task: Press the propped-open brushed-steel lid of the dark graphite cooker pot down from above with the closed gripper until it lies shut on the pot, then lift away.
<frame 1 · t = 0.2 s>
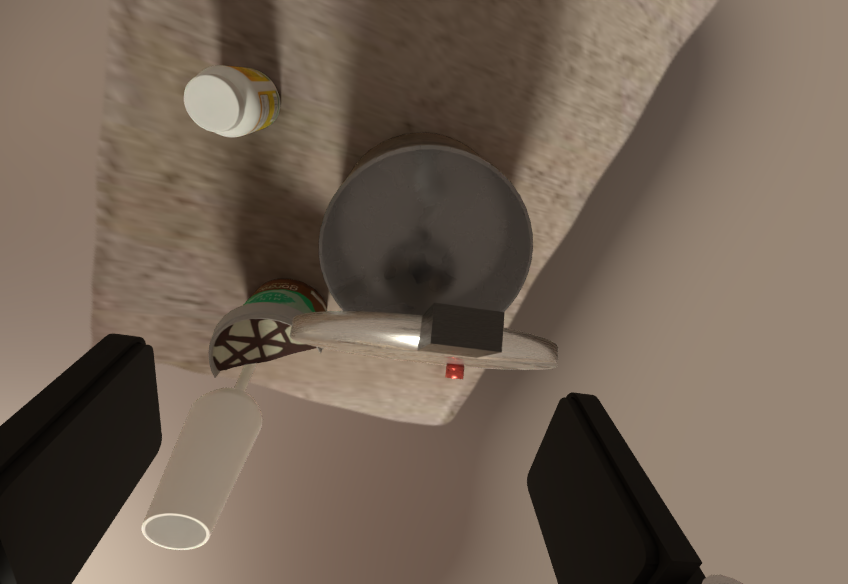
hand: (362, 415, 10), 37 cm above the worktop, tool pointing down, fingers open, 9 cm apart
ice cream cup: (281, 292, 49), on the worktop, touching champagne flute
supplement bottle: (253, 98, 40), on the worktop
champagne flute: (262, 337, 52), on the worktop, touching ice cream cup
cooker lid: (426, 352, 29), point 21 cm above the worktop, hinge at 50.0°
cooker pot: (421, 219, 46), on the worktop
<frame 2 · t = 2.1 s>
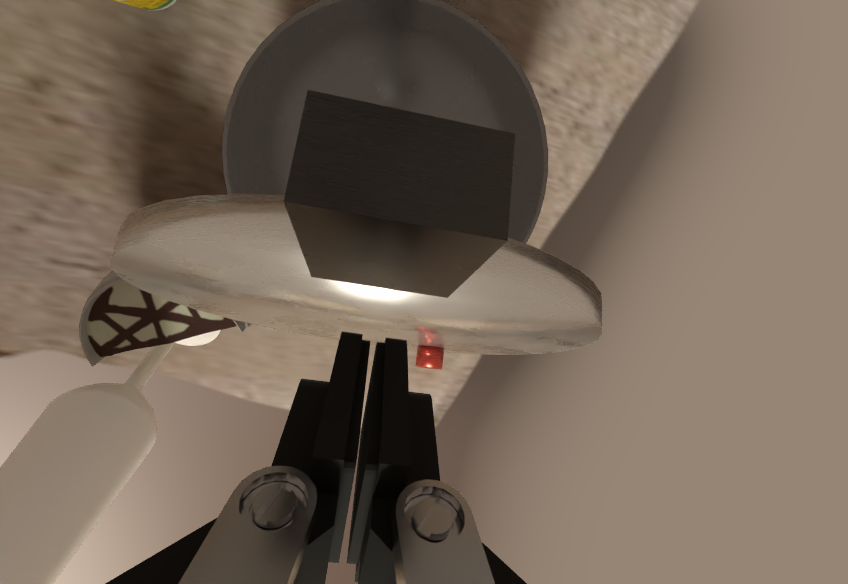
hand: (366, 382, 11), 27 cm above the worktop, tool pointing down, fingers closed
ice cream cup: (206, 256, 37), on the worktop
champagne flute: (185, 316, 39), on the worktop
cooker lid: (371, 315, 17), point 21 cm above the worktop, hinge at 50.0°
cooker pot: (392, 155, 34), on the worktop
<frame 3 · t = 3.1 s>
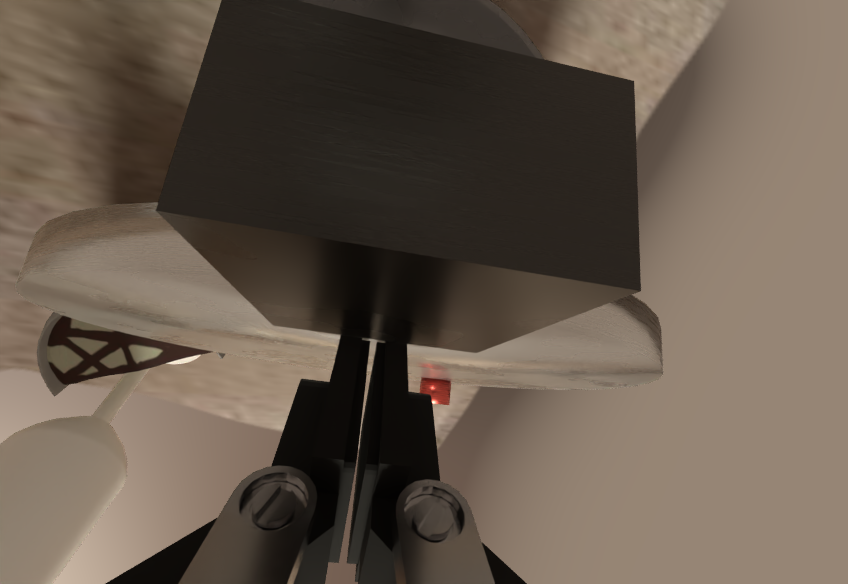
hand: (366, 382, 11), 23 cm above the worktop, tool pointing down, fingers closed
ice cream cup: (187, 268, 34), on the worktop, touching champagne flute
champagne flute: (166, 333, 36), on the worktop, touching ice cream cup
cooker lid: (366, 352, 14), point 20 cm above the worktop, hinge at 47.9°, touching gripper
cooker pot: (391, 157, 30), on the worktop
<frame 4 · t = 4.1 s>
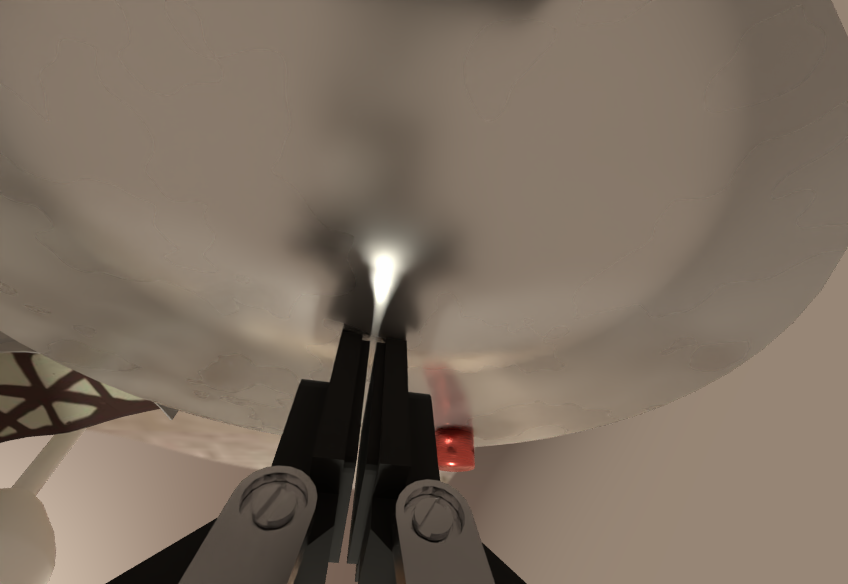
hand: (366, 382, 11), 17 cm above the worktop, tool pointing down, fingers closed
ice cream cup: (142, 290, 28), on the worktop, touching champagne flute
champagne flute: (122, 365, 30), on the worktop, touching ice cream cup
cooker lid: (372, 310, 9), point 17 cm above the worktop, hinge at 26.8°, touching gripper
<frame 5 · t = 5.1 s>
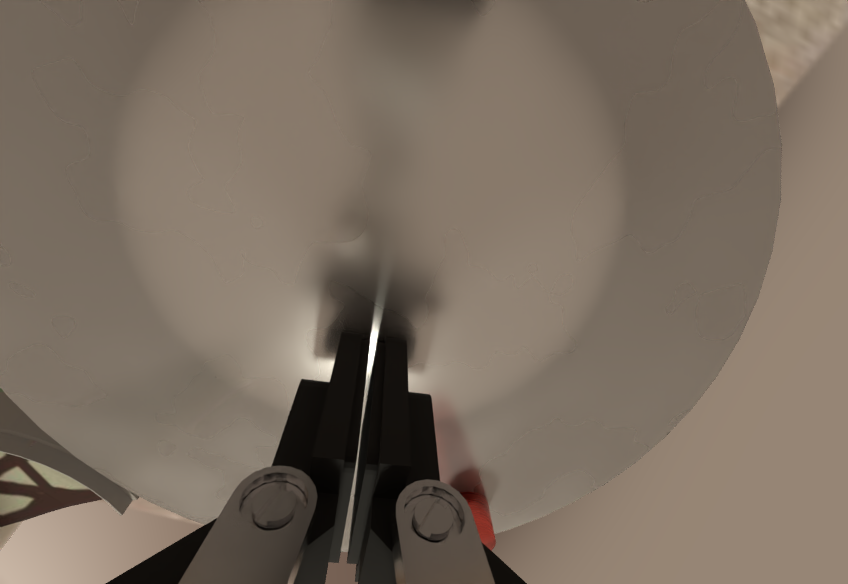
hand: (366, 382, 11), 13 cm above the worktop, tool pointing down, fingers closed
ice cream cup: (107, 341, 25), on the worktop, touching champagne flute
cooker lid: (381, 262, 9), point 13 cm above the worktop, hinge at 2.2°, touching gripper
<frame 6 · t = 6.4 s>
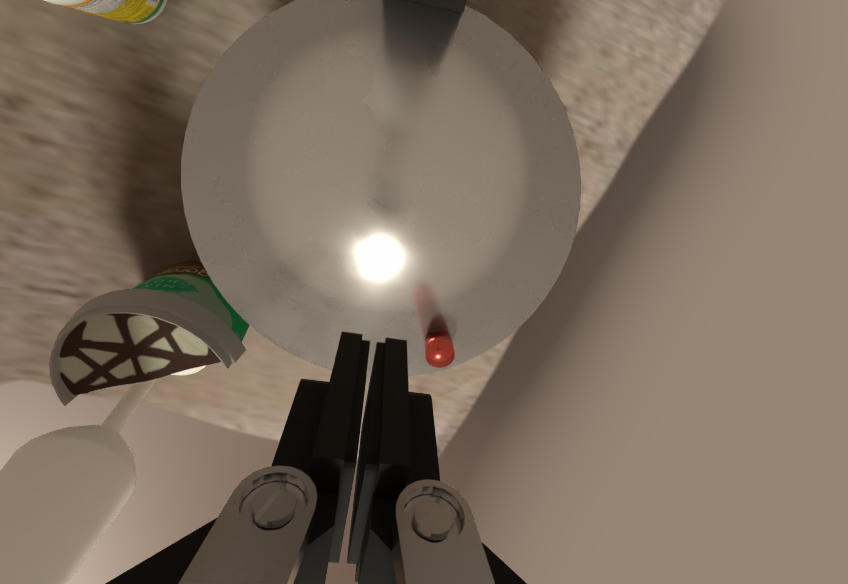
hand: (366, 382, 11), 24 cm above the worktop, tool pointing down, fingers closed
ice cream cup: (193, 281, 35), on the worktop
champagne flute: (172, 344, 37), on the worktop
cooker lid: (392, 187, 20), point 13 cm above the worktop, hinge at 1.9°
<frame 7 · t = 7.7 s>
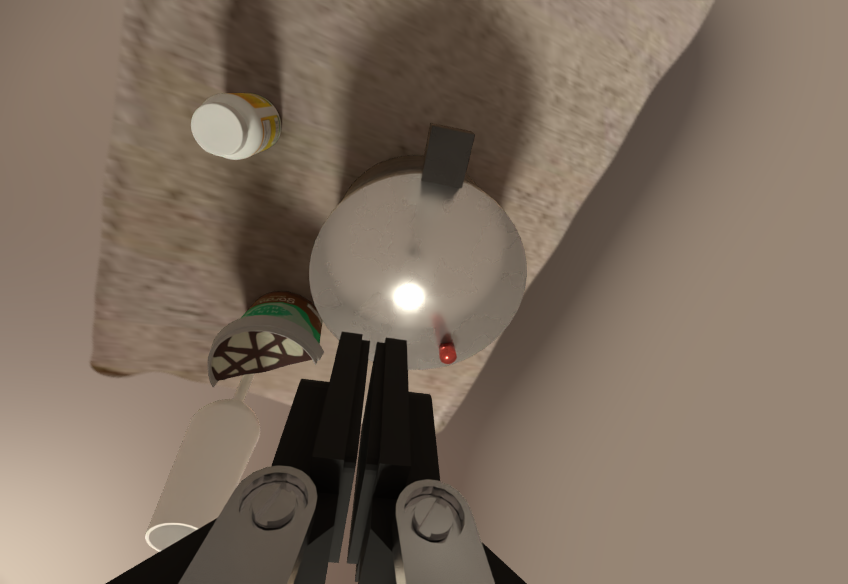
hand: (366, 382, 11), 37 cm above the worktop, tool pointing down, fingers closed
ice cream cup: (278, 304, 51), on the worktop, touching champagne flute
supplement bottle: (255, 121, 42), on the worktop
champagne flute: (260, 347, 53), on the worktop, touching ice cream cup
cooker lid: (422, 266, 36), point 13 cm above the worktop, hinge at 1.9°
cooker pot: (414, 236, 48), on the worktop
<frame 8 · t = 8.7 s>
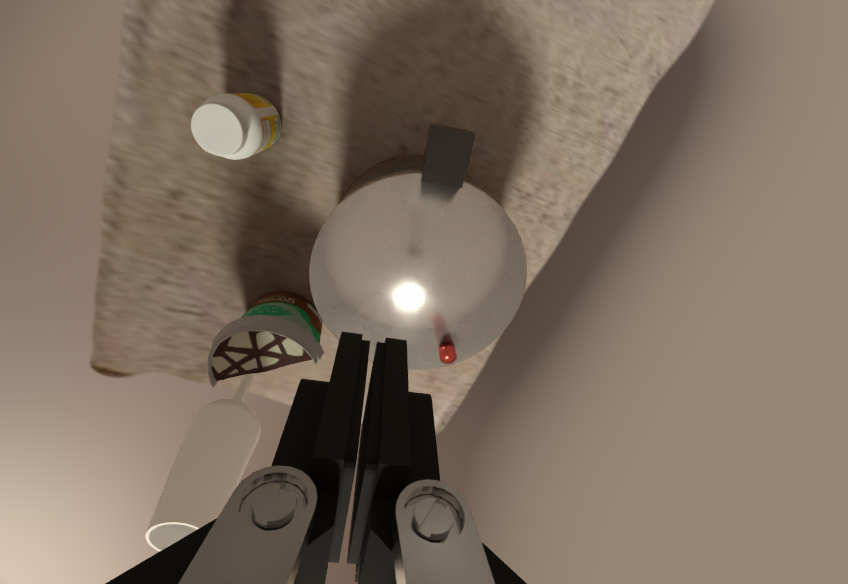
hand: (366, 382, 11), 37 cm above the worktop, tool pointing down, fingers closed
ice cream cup: (278, 304, 51), on the worktop
supplement bottle: (255, 121, 42), on the worktop
champagne flute: (261, 347, 53), on the worktop
cooker lid: (423, 266, 36), point 13 cm above the worktop, hinge at 1.9°
cooker pot: (414, 236, 48), on the worktop
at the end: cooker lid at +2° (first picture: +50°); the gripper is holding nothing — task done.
